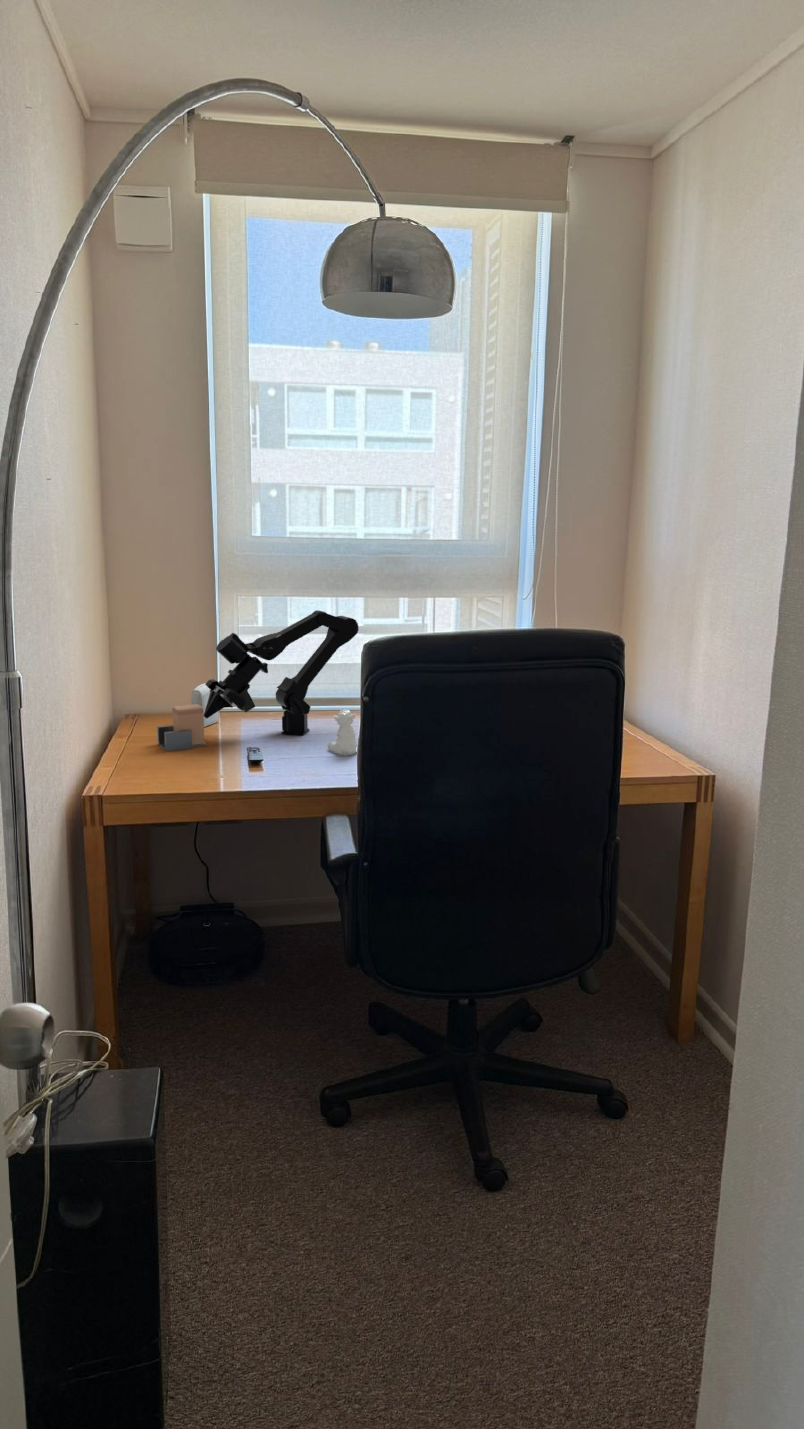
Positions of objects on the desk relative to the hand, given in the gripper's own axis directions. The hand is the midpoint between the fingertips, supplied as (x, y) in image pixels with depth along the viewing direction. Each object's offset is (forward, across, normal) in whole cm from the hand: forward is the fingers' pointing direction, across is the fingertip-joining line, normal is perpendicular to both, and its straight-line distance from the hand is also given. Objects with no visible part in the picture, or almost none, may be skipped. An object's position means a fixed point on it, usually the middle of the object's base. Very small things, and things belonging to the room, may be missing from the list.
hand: (205, 717), depth 263 cm
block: (+8, 0, -2) cm, 9 cm away
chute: (+10, 0, -1) cm, 10 cm away
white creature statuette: (-16, -27, -26) cm, 41 cm away
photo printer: (0, +21, -10) cm, 24 cm away
